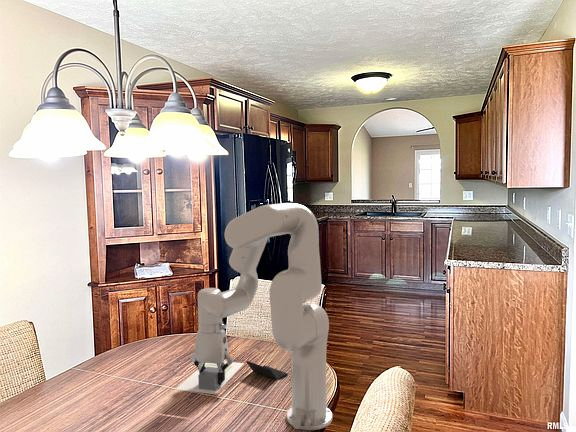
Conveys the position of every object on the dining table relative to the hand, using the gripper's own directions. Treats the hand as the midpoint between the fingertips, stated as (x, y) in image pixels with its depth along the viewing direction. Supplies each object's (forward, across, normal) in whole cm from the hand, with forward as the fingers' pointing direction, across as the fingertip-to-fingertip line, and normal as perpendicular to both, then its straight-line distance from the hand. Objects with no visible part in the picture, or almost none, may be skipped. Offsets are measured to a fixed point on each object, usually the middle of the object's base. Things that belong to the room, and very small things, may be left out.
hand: (212, 381), depth 140 cm
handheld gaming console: (+2, -15, -11) cm, 19 cm away
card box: (+1, 0, 0) cm, 1 cm away
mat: (+1, +3, -6) cm, 7 cm away
